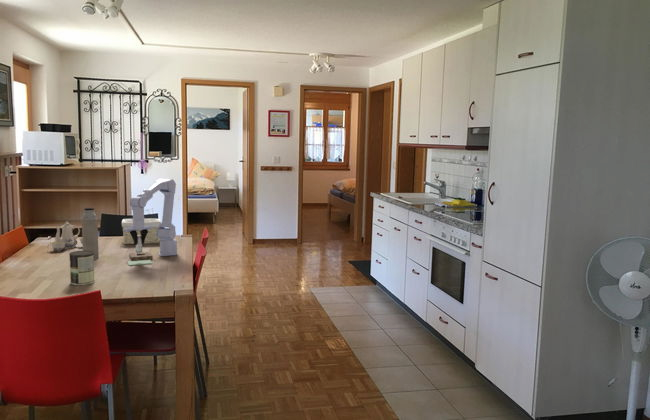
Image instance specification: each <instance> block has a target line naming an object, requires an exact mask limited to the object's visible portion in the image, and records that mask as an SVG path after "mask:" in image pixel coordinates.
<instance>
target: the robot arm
mask: <svg viewBox="0 0 650 420" xmlns="http://www.w3.org/2000/svg"><path fill="white" fill-rule="evenodd" d="M176 185H177V184H176V181H175V180H174V179H172V178H170V179H169V178H156V180H155V181H154V183H153V185H152V186H150V187H149V188H148V189H147V188H146V189H143V190H142V191H141V192H140V193H138V194H137V196H132V197H131V198H130V202H129V205H130V207H131V210H132V219H133V227H129V228H125V232H130V234H131V236H132V238H133V241H134V244H133V245H135V246H136V245H137V232H136V231H140V233H141V236H142V245H145V244H144V241H145V238H146V235H147V233H148V231H147V230H153V226H144V219H145V207H146V205H147V203H148V202H149V201H150V200H151V199H153V197H154V194H156V193H157V192H161V193H162V195H164V199H163V208H162V218H161V224H159V225H158V229H157V232H156V235H157V237H158V238H159V252H158V255H159V256H160V257H167V256H177V255H178V244H177V243H178V242H177V239H176V235H177V233H176V226H175V225H174V223H173V222H172V220H173V212H174V203H175V202H174V200H175V194H176V189H177V187H176ZM139 229H140V230H139Z"/></svg>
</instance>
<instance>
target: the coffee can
mask: <svg viewBox="0 0 650 420" xmlns="http://www.w3.org/2000/svg"><path fill="white" fill-rule="evenodd" d="M68 255H69V270H70V271H69V272H70V273H69V275H70V276H69V278H70V284H71V285H73V286H86V285H91V284H94V283H95V261H94V260H95V259H94V252H93V251H87V250H84V251H83V250H75V251H72V252H71V251H70V253H69V254H68Z"/></svg>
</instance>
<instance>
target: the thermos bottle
mask: <svg viewBox="0 0 650 420" xmlns="http://www.w3.org/2000/svg"><path fill="white" fill-rule="evenodd" d="M98 225H99V224H98V217H97V214H96V213H95V208H93V207H86V208H84V212H83V214H82V218H81V234H82V235H81V237H82V241H83V245H82V251H84V250H87V251H93V252H94V260H96V259H99V256H100V254H99V253H100V252H99V226H98Z"/></svg>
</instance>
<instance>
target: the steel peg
mask: <svg viewBox="0 0 650 420" xmlns="http://www.w3.org/2000/svg"><path fill="white" fill-rule="evenodd" d="M142 252H143V244H142V236H141V235H137V245H135V253H142Z"/></svg>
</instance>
